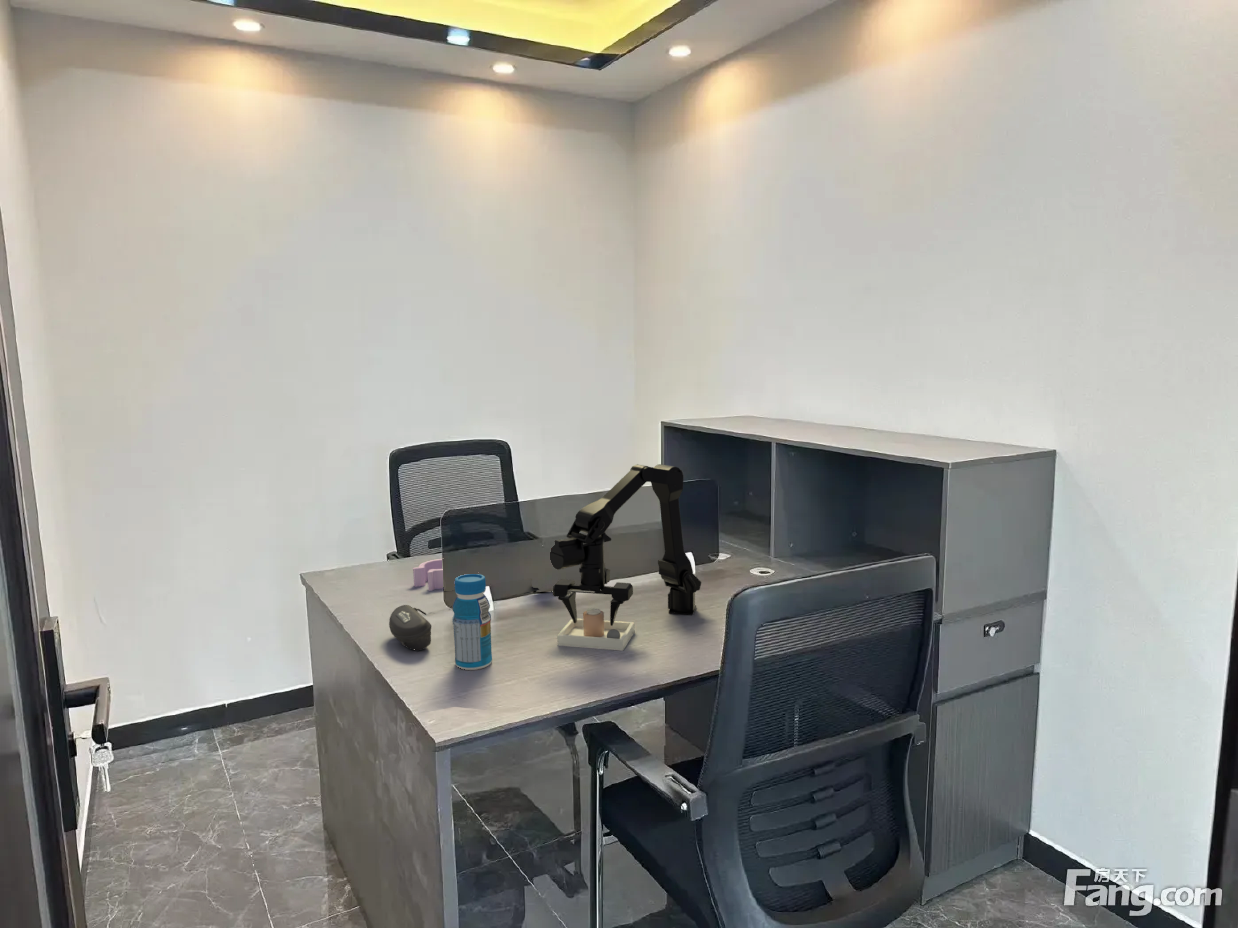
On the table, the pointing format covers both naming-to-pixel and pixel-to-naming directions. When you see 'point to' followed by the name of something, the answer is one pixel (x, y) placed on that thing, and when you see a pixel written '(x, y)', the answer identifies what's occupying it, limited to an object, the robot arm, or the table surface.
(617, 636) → the ball
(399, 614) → the glasses case
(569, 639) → the tray
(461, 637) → the beverage bottle
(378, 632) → the table surface
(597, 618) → the cylinder
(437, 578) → the clip
